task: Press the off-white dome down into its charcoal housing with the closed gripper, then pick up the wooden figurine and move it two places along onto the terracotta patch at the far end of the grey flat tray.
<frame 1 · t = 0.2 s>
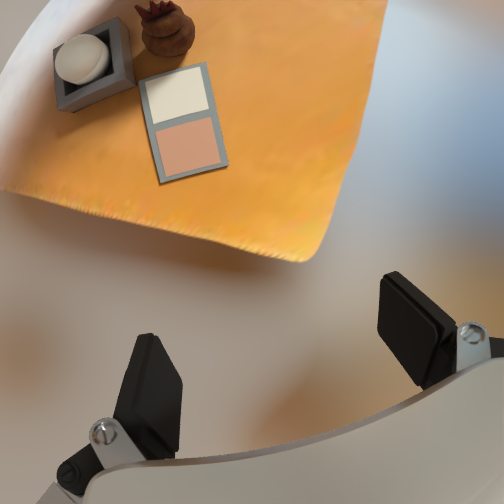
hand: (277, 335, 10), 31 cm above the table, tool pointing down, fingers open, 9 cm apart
dome: (79, 57, 22), point 7 cm above the table, slide at 0.0 cm
dome housing: (99, 69, 28), on the table
grey flat tray: (182, 120, 34), on the table
wooden figurine: (174, 45, 29), on the table
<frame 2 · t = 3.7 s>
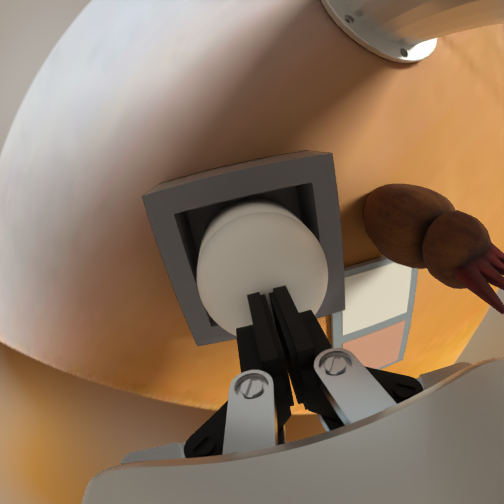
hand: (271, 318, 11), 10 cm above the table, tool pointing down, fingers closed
dome: (262, 275, 15), point 7 cm above the table, slide at -0.1 cm, touching gripper
dome housing: (248, 234, 21), on the table
grey flat tray: (373, 324, 26), on the table
wooden figurine: (382, 209, 22), on the table
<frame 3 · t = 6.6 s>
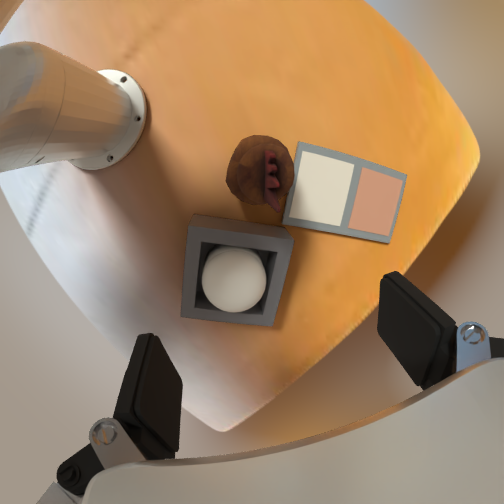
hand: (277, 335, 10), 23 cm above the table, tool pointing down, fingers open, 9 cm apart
dome: (234, 280, 30), point 5 cm above the table, slide at -2.3 cm
dome housing: (232, 263, 34), on the table
grey flat tray: (349, 195, 32), on the table
wooden figurine: (253, 166, 30), on the table
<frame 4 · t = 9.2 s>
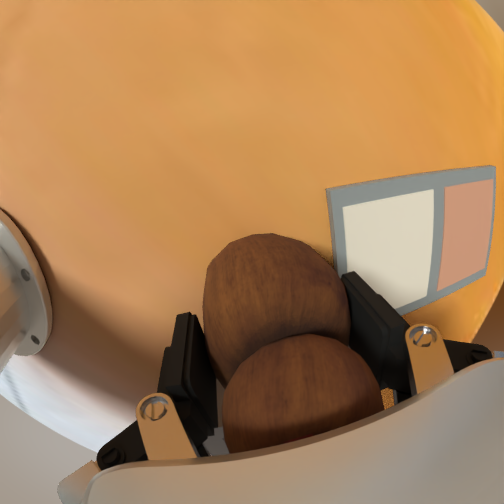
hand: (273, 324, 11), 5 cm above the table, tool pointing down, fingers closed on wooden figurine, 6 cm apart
dome housing: (279, 400, 20), on the table
grey flat tray: (431, 241, 16), on the table
wooden figurine: (257, 273, 15), on the table, touching gripper
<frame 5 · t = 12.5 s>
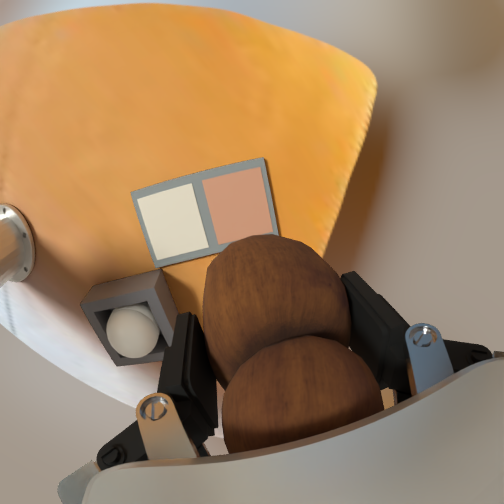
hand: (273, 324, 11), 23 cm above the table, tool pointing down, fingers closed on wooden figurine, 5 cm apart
dome: (132, 331, 31), point 5 cm above the table, slide at -2.3 cm
dome housing: (139, 311, 36), on the table
grey flat tray: (205, 213, 32), on the table
wooden figurine: (257, 274, 15), point 18 cm above the table, touching gripper
when the fingers open (7 cm above the table, at t = 16.1 s): wooden figurine drops 1 cm, resting on grey flat tray.
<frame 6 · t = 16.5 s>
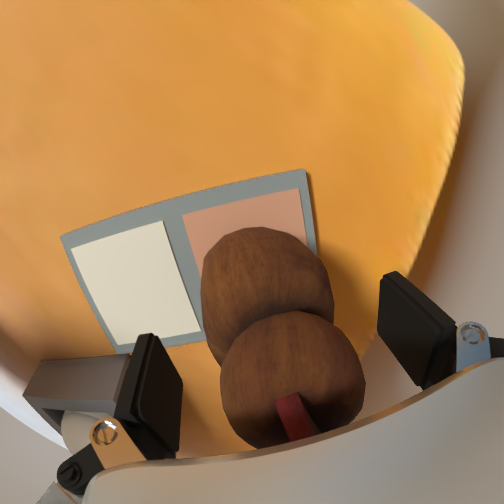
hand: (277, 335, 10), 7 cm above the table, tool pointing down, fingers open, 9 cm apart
dome: (97, 434, 17), point 5 cm above the table, slide at -2.3 cm
dome housing: (107, 397, 21), on the table
grey flat tray: (192, 274, 17), on the table
wooden figurine: (249, 264, 17), point 1 cm above the table, touching grey flat tray
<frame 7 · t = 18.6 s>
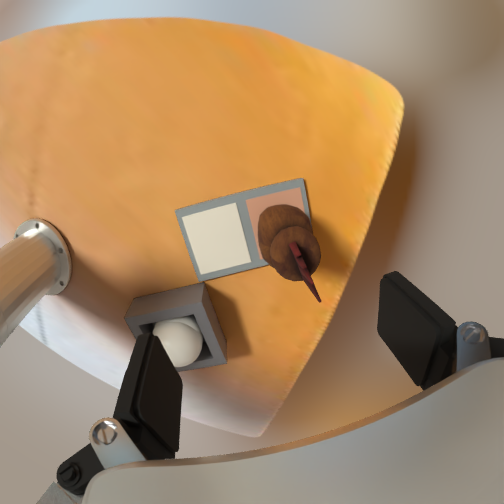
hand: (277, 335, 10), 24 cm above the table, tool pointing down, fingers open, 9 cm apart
dome: (176, 341, 34), point 5 cm above the table, slide at -2.3 cm
dome housing: (180, 321, 39), on the table
grey flat tray: (248, 230, 34), on the table
wooden figurine: (277, 224, 34), point 1 cm above the table, touching grey flat tray
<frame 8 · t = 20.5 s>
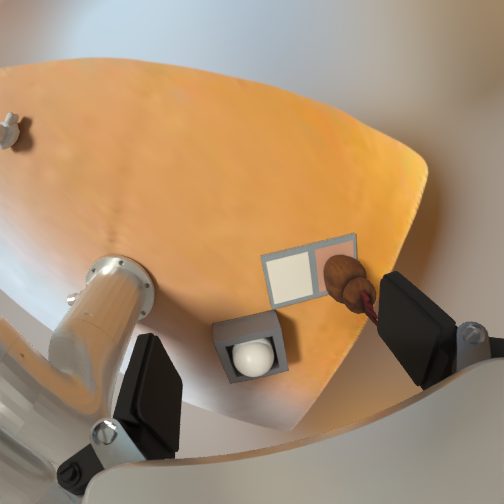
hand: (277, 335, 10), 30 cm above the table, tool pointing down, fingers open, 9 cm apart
dome: (253, 357, 44), point 5 cm above the table, slide at -2.3 cm
rubber duck: (16, 130, 28), on the table
dome housing: (250, 339, 48), on the table
grey flat tray: (312, 271, 44), on the table
wooden figurine: (334, 266, 44), point 1 cm above the table, touching grey flat tray
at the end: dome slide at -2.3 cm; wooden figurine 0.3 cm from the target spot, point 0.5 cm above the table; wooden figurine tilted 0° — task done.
